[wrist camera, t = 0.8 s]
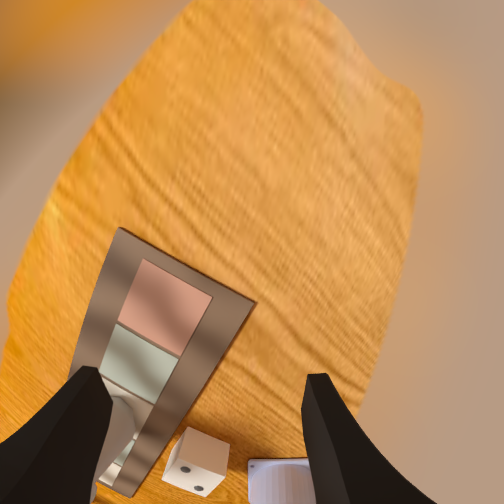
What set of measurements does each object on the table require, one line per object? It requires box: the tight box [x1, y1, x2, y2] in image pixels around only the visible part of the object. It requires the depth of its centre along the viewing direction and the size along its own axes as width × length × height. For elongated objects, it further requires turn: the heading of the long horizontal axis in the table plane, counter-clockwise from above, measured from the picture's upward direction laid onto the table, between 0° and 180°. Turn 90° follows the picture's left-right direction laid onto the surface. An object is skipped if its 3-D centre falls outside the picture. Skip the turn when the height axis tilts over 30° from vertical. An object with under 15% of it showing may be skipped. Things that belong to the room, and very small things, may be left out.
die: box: [162, 426, 230, 497], centre depth 28 cm, size 5×5×5 cm
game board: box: [67, 227, 254, 498], centre depth 29 cm, size 37×13×1 cm, turn 151°
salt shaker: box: [90, 396, 136, 503], centre depth 23 cm, size 6×6×13 cm
